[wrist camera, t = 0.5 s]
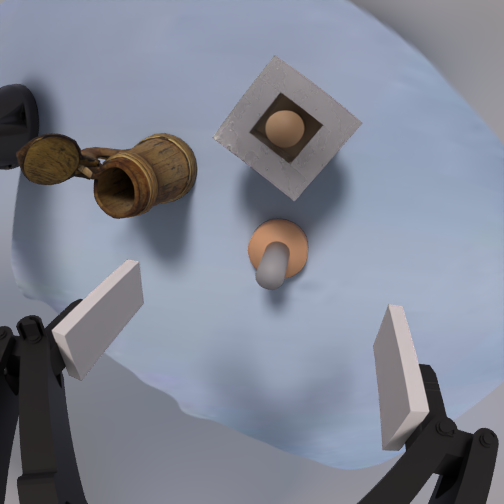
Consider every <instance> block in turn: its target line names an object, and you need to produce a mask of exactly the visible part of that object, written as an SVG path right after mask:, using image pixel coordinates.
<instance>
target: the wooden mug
mask: <svg viewBox="0 0 504 504" xmlns="http://www.w3.org/2000/svg"><path fill="white" fill-rule="evenodd" d="M16 155H17V159H18V163H19V166H20V168H21V170H22V172H23V174H24V176H25V177H26V178H27V179H28V180H29V181H32V182H34V183H37V184H42V185H54V184H59V183H61V182H64V181H66V180H68V179H70V178H72V177H74V176H75V177H82V178H86V179H89V180H90V179H94V197H95V200H96V202H97V204H98V205H99V207H100V208H101V209H102V210H103V211H104V212H105V213H106V214H107V215H109V216H111V217H113V218H117V219H120V218H128V217H134V216H138V215H141V214H143V213H146V212H148V211H149V210H150V209H151V208H152V207H153V206H155V205H158V204H160V203H167V202H172V201H175V200H177V199H179V198H181V197H182V196H184V195H185V194H186V193H188V191H189V190H190V189H191V187H192V186H193V184H194V181H195V179H196V172H197V165H196V159H195V156H194V153H193V151H192V150H191V148H190V147H189V146H188V145H187V144H186V143H185V142H184V141H182V140H181V139H180V138H178V137H176V136H174V135H170V134H166V133H161V134H154V135H152V136H150V137H148V138H146V139H144V140H142V141H140V142H139V143H138V144H137V145H135V146H134V148H132V149H126V150H119V149H110V148H99V147H93V148H86V149H83V150H81V149H80V147H79V146H78V144H77V142H76V141H75V140H73V139H71V138H70V137H67V136H65V135H61V134H45V135H41V136H39V137H36V138H34V139H32V140H31V141H29V142H28V143H27V144H25V145H24V146H23V147H22V148H21V149H20V150H19V151H18V152H17V153H16ZM98 159H105V161H104V162H103V165H102V164H101V163H100V161H99V160H98Z"/></svg>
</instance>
